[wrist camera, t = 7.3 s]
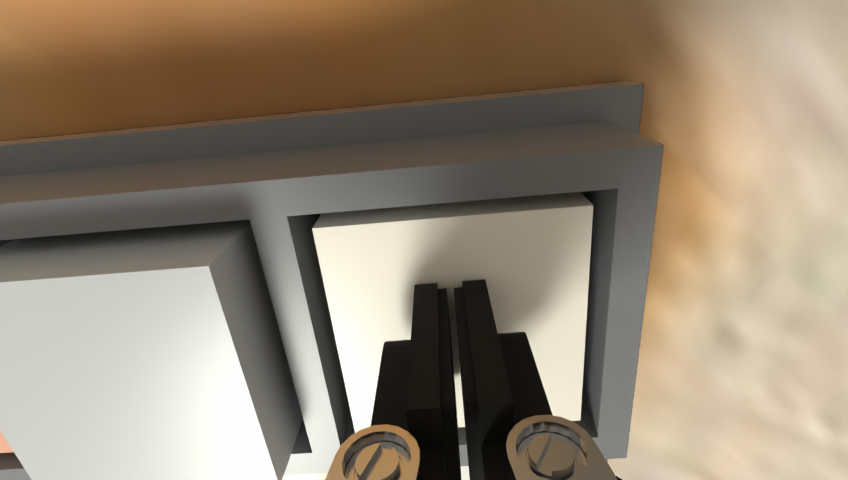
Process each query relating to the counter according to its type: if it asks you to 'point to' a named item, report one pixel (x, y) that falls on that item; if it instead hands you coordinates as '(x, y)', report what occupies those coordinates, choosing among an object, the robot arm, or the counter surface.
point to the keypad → (361, 190)
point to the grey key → (144, 357)
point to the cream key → (450, 265)
